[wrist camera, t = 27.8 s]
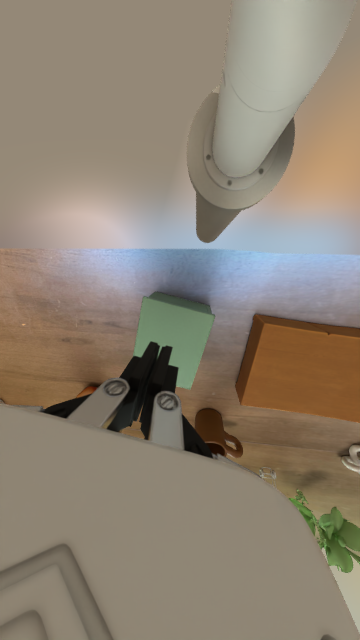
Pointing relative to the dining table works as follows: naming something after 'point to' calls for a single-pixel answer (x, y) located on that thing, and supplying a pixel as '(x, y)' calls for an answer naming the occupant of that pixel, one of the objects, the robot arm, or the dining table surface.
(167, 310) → the lid
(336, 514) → the plant cuttings
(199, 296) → the dining table surface
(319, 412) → the wooden box
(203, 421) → the mug
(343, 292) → the dining table surface
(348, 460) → the knot
